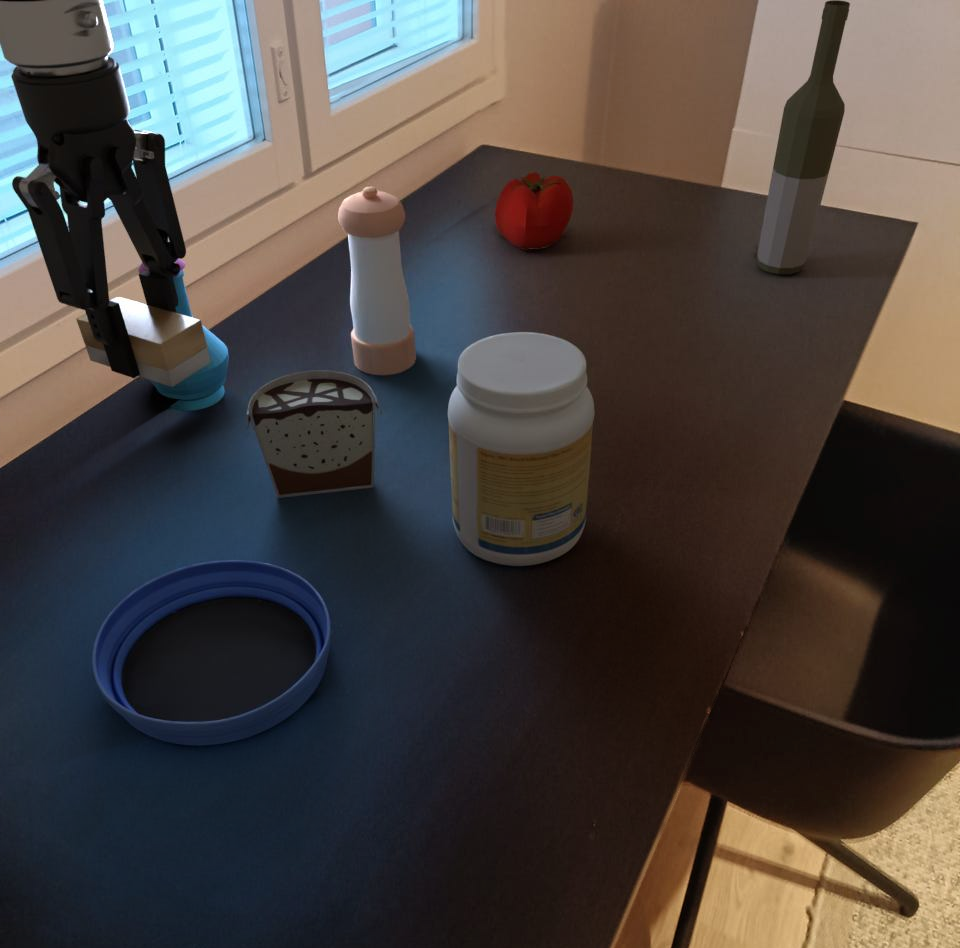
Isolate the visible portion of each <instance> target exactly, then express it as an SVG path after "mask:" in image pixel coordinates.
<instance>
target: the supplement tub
mask: <svg viewBox="0 0 960 948" xmlns="http://www.w3.org/2000/svg"><path fill="white" fill-rule="evenodd" d="M447 407H448V408H447V418H448V419H447V420H448V440H449V441H448V443H449V444H448V445H449V463H450V464H449V465H450V481H451V482H450V483H451V507H452V524H453V527H454V531H455V533H456V536H457V538H458V540H459V541H460V543H461V544H462V545H463V546H464V548H466V549H467V551H468V552H470V553H471V554H473V555H474V556H476V557H477V558H480V559H482V560H484V561H487V562H489V563H493V564H498V565H504V566H509V567H527V566H535V565H540V564H544V563H547V562H550V561H553V560H554V559H555V560H556V559H557V558H560V557H561V556H563V555H565V554H566V553H568V552H569V551H570V550H571V549H572V548H573V547H574V546H575V545H576V544H577V543H578V541H579V540H580V539H581V536H582V535H583V532H584V529H585V526H586V522H587V505H588V492H589V481H590V471H591V470H590V469H591V459H592V458H591V457H592V444H593V442H592V441H593V433H594V432H593V430H594V419H595V416H596V415H595V403H594V398H593V395H592V393H591V391H590V389H589V387H588V375H587V360H586V356H585V355H584V353H583V352H582V351H581V350H580V348H578V347H577V346H576V345H574V344H573V343H571V342H570V341H568V340H565V339H564V338H560V337H557V336H554V335H551V334H546V333H541V332H540V333H539V332H530V331H517V332H516V331H514V332H505V333H498V334H494V335H491V336H487V337H484V338H481V339H479V340H476V341H475V342H473V343H471V344H470V345H468V346H467V347H466V348H465V349H464V350H463V351H462V352H461V354H460V355H459V357H458V360H457V374H456V386H455V388H454V389H453V390H452V392H451V394H450V397H449V401H448V405H447Z"/></svg>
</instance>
